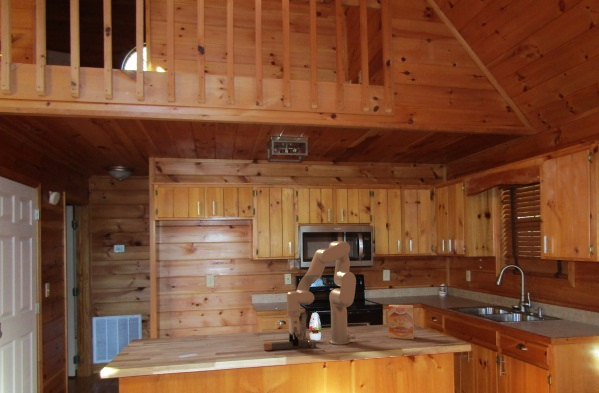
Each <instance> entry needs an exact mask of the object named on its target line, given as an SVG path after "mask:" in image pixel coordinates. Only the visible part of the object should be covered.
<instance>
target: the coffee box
mask: <svg viewBox="0 0 599 393" xmlns="http://www.w3.org/2000/svg"><path fill="white" fill-rule="evenodd" d="M299 322H300V334H298V340H299V341H300V340H306V339H307V312H305V311H304V312H303V311H300V317H299Z"/></svg>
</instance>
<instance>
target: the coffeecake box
mask: <svg viewBox="0 0 599 393" xmlns="http://www.w3.org/2000/svg"><path fill="white" fill-rule="evenodd" d="M387 308H388V309H387V314H388V338H389V339H403V340H414V338H415V326H414V325H415V323H414V322H415V321H414V305H411V304H410V305H408V304H407V305H406V304H405V305H404V304H389V305H388V306H387Z"/></svg>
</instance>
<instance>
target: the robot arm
mask: <svg viewBox="0 0 599 393" xmlns="http://www.w3.org/2000/svg"><path fill="white" fill-rule="evenodd" d="M328 245H329V246H328V248H319V249H317V250H316V251H315V252H314V255H313V257H312V260H311V263H310V264H309V265H310V266H309V267H308V269H307V271H306V273H305V275H304V276H303V277H302V278H301V279H300V281H299V283H298V286H297V288H296V290H295V291H294V290H293V291H288V292H287V293H286V317H288V334H289V335H288V341H293V346H299V341H300V340H298V334H300V322H299V317H300V312H301V305H311V304H312V303H313V302H314V301H315V295H314V294H313V293H312V292H311V291H310V288H311V287H312V285H313V284H314V283H315V282H317V281H318V280H320V279H321V278H322V275H323V273H324V270H325V268H326V265H328V264H331V263H334V262H335V268H334V275H333V282H334V284H335V286H338V287H340V288H334V289H333V288H332V290H331V291H330V292H329V298H328V299H329V303H330V304H329V305H330V324H331V325H330V326H331V327H330V329H331V331H330V332H331V334H330V335H331V336H330V337H331V338H330V339H329V340H328V343H329V344H332V345H348V344H350V343H351V340H354V339H356V335H355V334H353V335H352V334H348V310H347V308H348V307H350V306H352V305H353V303H354V299H355V293H356V286H357V279H356V275H355V274H354V273H353V272H351V271H350V267H351V266H350V265H351V264H350V263H351V262H350V261H351V260H350V257H349V253H350V251H351V246H350V244H349V243H348V242H347V241H342V240H341V241H340V240H339V241H338V240H336V241H335V240H333V241H331V242H330V243H329V244H328Z"/></svg>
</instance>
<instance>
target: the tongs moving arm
mask: <svg viewBox="0 0 599 393" xmlns="http://www.w3.org/2000/svg"><path fill="white" fill-rule="evenodd" d="M311 340H312V339H309V340H306V341H300V340H299V346H293V342H285V341H277V342H278V343H266V342H263V350H264V351H274V350H288V349H289V350H290V349H304V348H313V347H312V341H311Z"/></svg>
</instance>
